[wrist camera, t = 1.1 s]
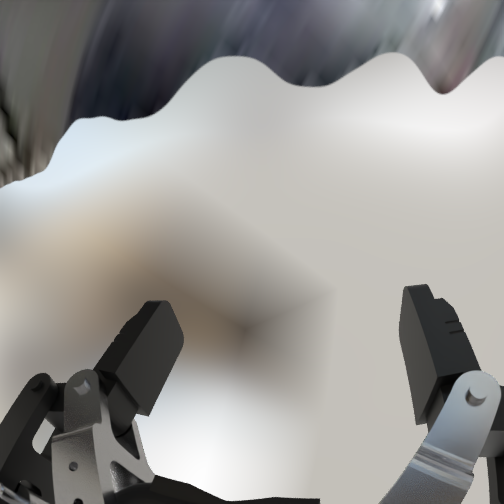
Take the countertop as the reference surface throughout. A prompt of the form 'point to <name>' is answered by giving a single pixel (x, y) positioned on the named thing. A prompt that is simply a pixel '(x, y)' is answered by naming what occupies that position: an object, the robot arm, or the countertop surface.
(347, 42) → the countertop surface
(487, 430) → the robot arm
